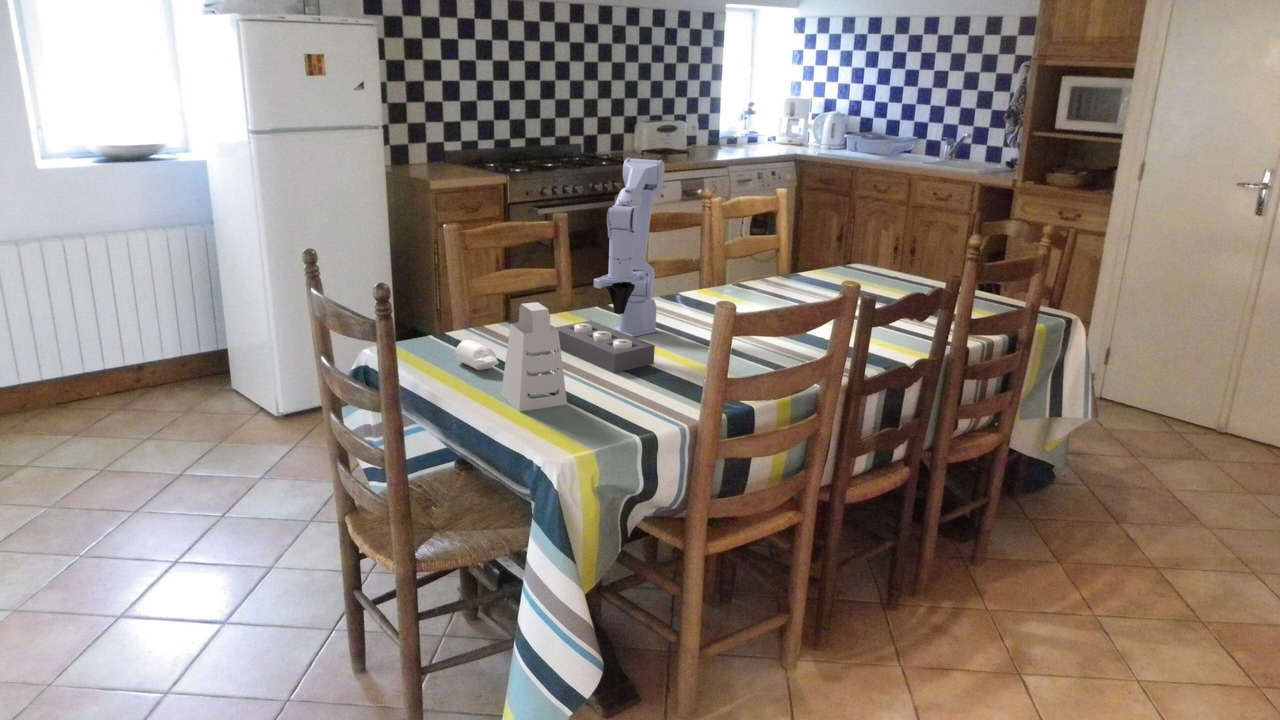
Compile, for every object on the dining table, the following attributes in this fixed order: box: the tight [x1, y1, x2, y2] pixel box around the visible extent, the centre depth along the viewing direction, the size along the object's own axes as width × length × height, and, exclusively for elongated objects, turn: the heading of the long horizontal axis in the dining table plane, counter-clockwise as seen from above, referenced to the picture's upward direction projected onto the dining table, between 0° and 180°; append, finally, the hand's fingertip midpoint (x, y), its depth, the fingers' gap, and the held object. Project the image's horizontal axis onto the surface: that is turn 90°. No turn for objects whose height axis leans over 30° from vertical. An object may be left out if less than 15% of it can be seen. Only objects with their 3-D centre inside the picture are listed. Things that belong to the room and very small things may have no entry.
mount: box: [554, 319, 656, 374], centre depth 224 cm, size 12×24×4 cm, turn 41°
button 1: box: [574, 323, 592, 333], centre depth 229 cm, size 4×4×3 cm
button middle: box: [593, 331, 612, 341], centre depth 224 cm, size 4×4×3 cm
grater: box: [500, 301, 568, 412], centre depth 192 cm, size 10×10×20 cm
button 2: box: [613, 339, 632, 350], centre depth 218 cm, size 4×4×3 cm
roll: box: [454, 339, 500, 371], centre depth 211 cm, size 6×12×6 cm, turn 41°
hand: (619, 313), depth 224 cm, fingers closed
